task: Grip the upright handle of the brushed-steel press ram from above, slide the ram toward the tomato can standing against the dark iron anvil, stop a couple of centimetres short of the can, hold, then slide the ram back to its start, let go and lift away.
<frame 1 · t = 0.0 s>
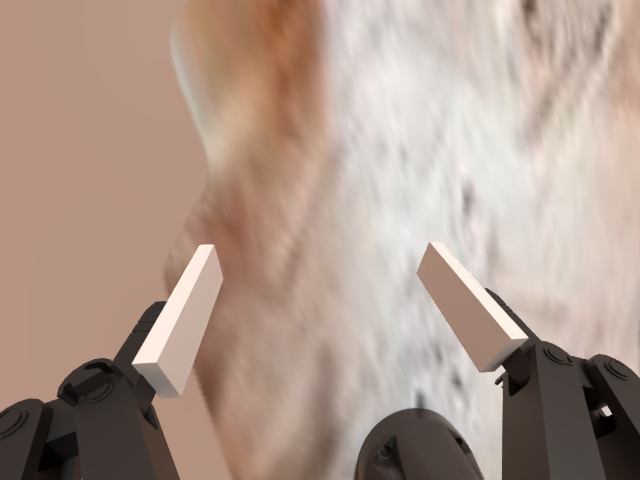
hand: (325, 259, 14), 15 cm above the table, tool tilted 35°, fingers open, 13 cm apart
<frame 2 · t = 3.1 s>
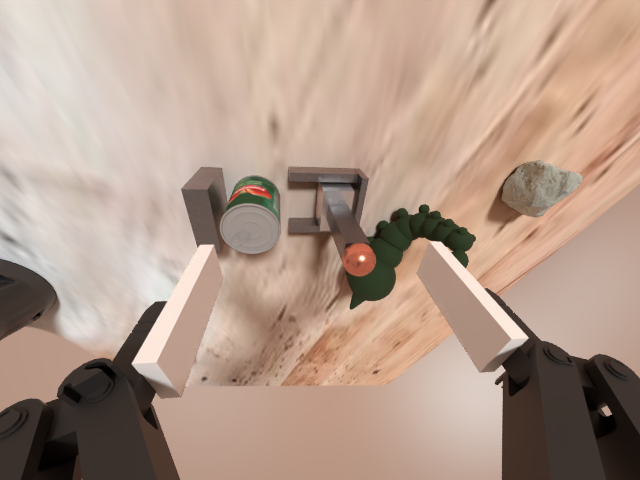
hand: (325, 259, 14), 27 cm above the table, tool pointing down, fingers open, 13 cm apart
canned tomato: (257, 197, 39), on the table
press frame: (277, 197, 40), on the table
toy figurine: (376, 240, 49), on the table
decorative stone: (520, 185, 47), on the table
ram: (343, 226, 33), point 10 cm above the table, slide at 0.0 cm
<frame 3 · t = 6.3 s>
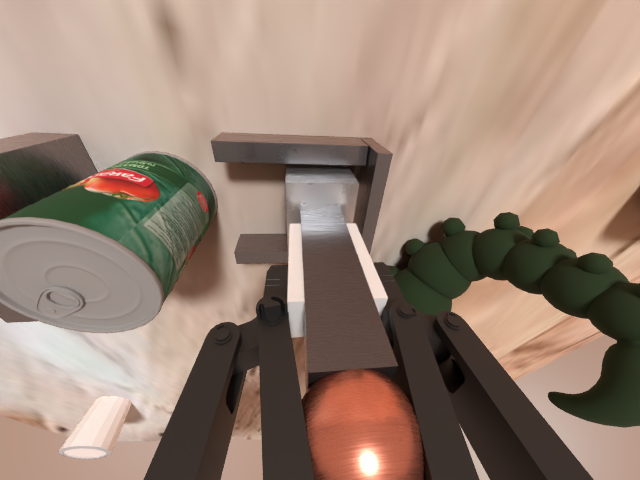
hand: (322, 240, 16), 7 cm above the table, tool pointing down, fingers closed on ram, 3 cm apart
canned tomato: (171, 195, 20), on the table
press frame: (211, 197, 21), on the table
toy figurine: (400, 270, 29), on the table
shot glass: (114, 401, 41), on the table
ram: (327, 269, 13), point 10 cm above the table, slide at 0.0 cm, touching gripper
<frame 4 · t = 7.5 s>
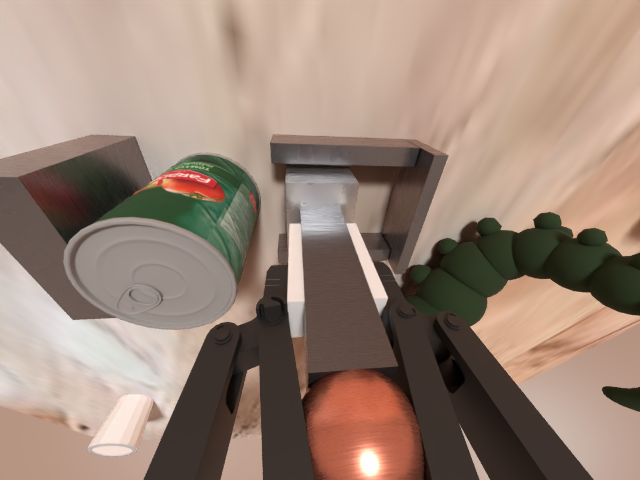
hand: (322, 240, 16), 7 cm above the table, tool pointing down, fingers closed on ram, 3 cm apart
canned tomato: (217, 196, 21), on the table
press frame: (255, 197, 21), on the table
toy figurine: (429, 269, 29), on the table
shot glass: (137, 399, 42), on the table
ram: (327, 269, 13), point 10 cm above the table, slide at 4.0 cm, touching gripper
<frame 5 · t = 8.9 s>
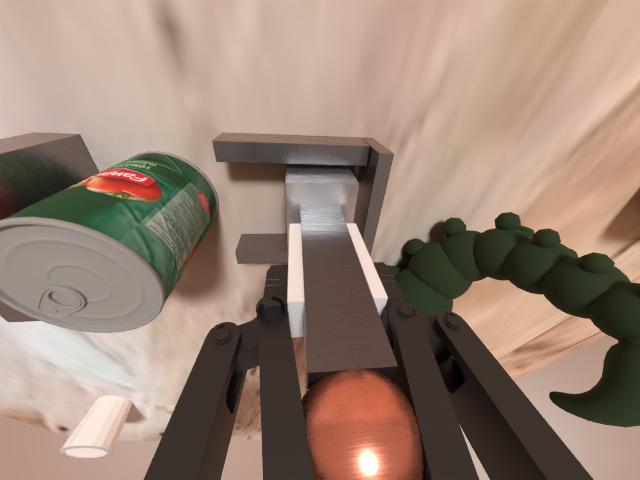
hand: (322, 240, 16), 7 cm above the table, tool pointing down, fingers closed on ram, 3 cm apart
canned tomato: (173, 195, 20), on the table
press frame: (212, 197, 21), on the table
toy figurine: (401, 270, 29), on the table
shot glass: (115, 400, 42), on the table
ram: (327, 269, 13), point 10 cm above the table, slide at 0.1 cm, touching gripper
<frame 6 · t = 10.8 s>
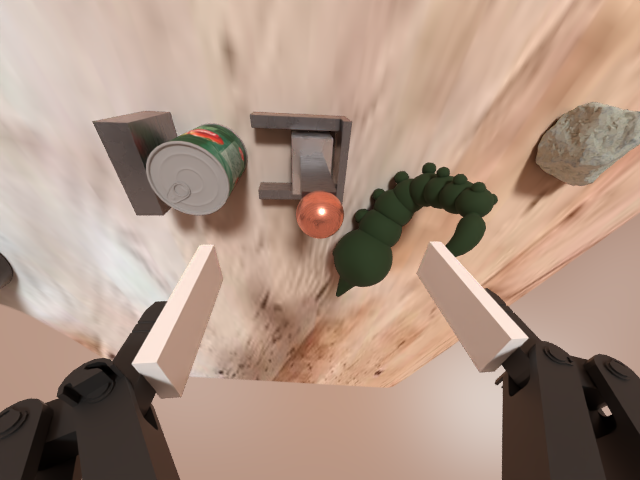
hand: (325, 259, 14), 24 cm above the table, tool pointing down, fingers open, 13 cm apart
canned tomato: (219, 153, 32), on the table
press frame: (244, 154, 32), on the table
toy figurine: (372, 215, 40), on the table
decorative stone: (562, 144, 36), on the table
ram: (313, 181, 25), point 10 cm above the table, slide at 0.0 cm
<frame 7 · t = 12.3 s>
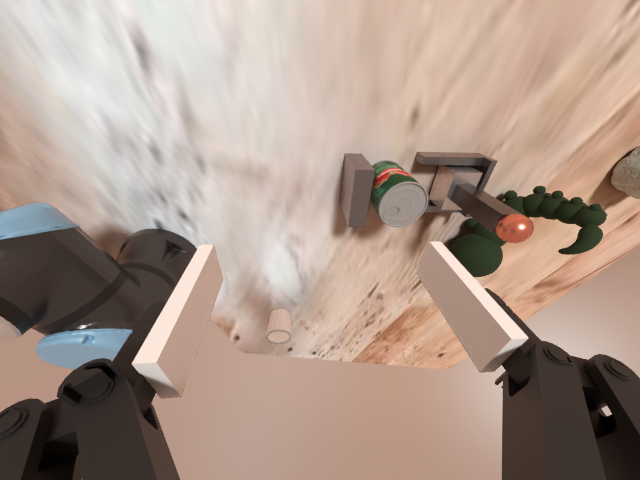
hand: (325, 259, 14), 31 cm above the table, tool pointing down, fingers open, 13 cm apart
canned tomato: (382, 180, 44), on the table
press frame: (399, 180, 44), on the table
toy figurine: (475, 222, 52), on the table
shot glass: (280, 314, 66), on the table
decorative stone: (631, 168, 47), on the table
ram: (477, 203, 37), point 10 cm above the table, slide at 0.0 cm
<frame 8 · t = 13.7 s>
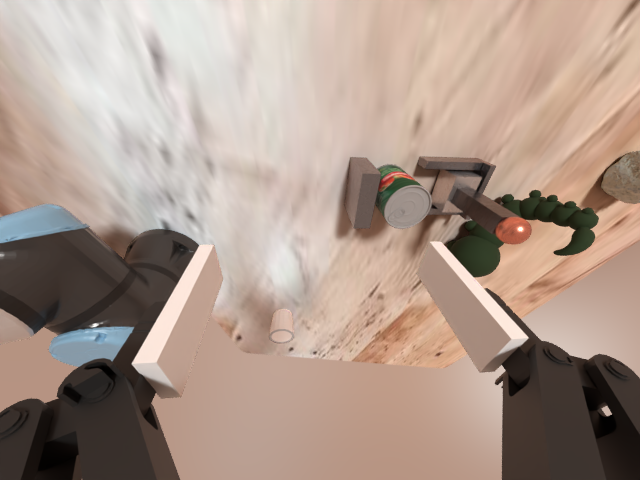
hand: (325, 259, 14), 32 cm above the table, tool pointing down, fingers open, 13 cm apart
canned tomato: (385, 183, 46), on the table
press frame: (402, 183, 46), on the table
toy figurine: (474, 224, 54), on the table
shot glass: (282, 314, 67), on the table
decorative stone: (620, 173, 50), on the table
ram: (477, 206, 39), point 10 cm above the table, slide at 0.0 cm
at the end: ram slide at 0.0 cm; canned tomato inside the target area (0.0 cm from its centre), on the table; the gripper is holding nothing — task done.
